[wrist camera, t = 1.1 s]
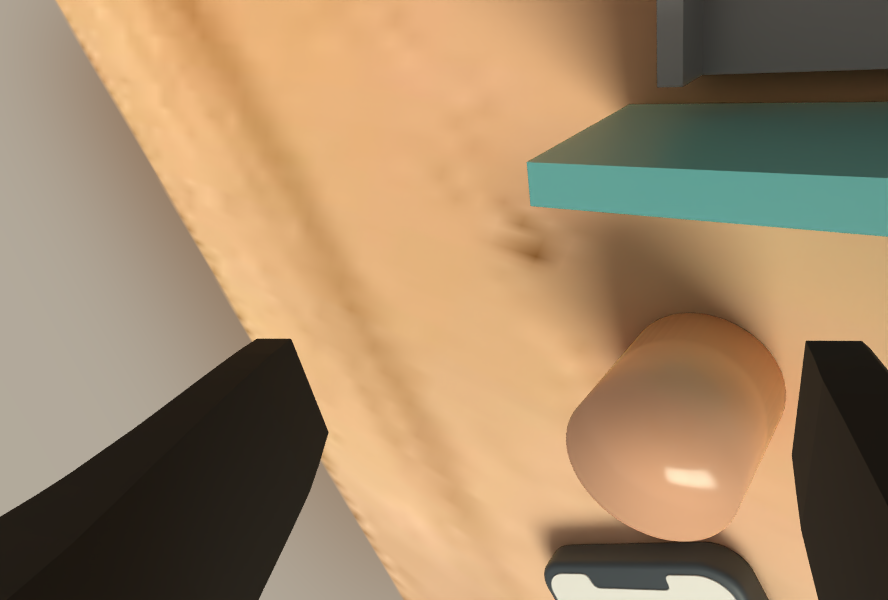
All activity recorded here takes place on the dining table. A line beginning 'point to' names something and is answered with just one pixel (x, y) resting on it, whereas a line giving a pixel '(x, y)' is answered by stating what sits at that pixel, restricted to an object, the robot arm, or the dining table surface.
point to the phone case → (651, 572)
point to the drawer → (740, 126)
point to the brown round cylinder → (678, 427)
